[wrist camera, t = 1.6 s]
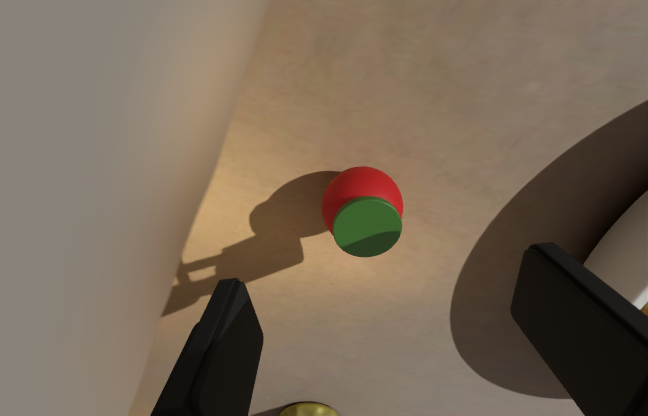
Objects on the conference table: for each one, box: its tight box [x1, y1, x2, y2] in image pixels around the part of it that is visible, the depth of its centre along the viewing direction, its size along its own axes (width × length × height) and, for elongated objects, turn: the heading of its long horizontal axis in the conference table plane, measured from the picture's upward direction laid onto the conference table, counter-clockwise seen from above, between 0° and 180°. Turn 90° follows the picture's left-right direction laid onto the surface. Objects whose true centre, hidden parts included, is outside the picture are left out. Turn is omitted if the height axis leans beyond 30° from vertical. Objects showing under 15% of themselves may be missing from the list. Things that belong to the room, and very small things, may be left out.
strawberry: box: [321, 167, 403, 257], centre depth 14 cm, size 4×4×4 cm
